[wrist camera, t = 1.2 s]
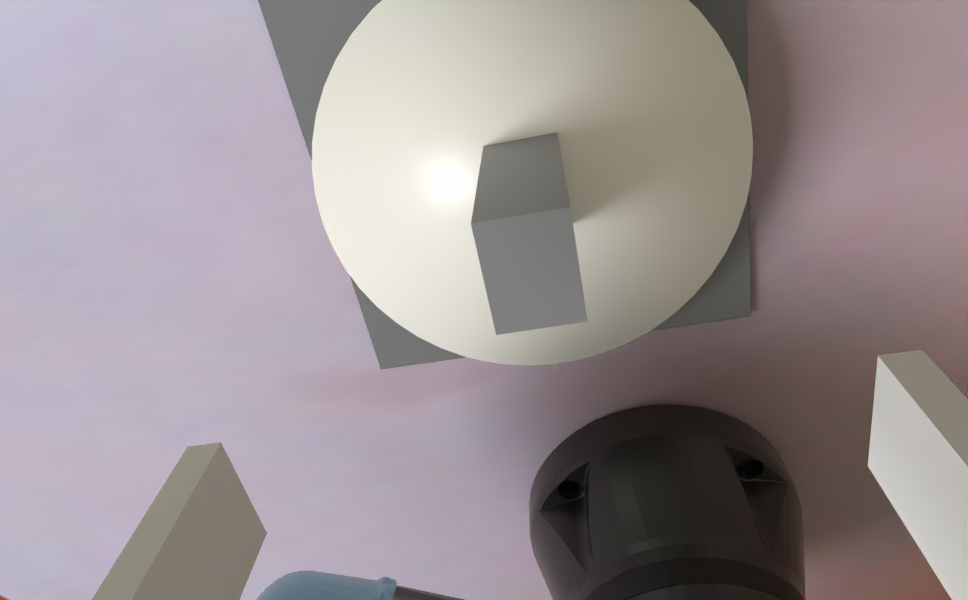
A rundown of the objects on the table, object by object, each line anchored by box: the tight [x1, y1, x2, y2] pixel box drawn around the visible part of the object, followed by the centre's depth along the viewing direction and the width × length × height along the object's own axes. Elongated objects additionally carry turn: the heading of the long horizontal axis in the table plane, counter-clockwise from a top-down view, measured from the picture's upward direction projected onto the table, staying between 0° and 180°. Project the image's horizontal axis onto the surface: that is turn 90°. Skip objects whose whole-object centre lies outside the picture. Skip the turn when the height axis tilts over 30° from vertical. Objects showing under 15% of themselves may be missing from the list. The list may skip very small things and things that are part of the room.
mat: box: [258, 0, 751, 369], centre depth 30 cm, size 19×19×1 cm
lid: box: [312, 0, 753, 366], centre depth 26 cm, size 18×18×10 cm
